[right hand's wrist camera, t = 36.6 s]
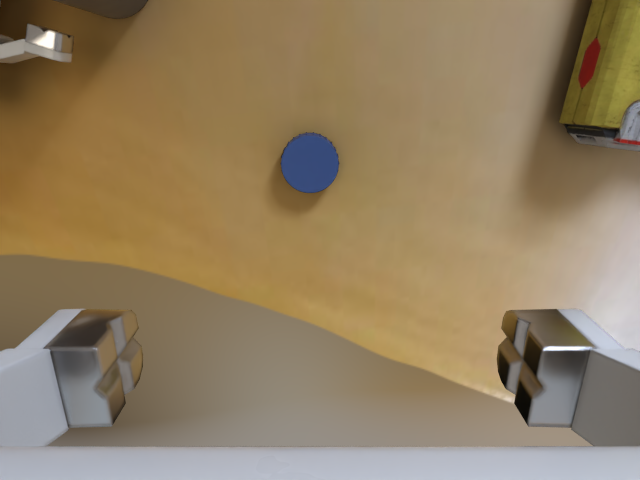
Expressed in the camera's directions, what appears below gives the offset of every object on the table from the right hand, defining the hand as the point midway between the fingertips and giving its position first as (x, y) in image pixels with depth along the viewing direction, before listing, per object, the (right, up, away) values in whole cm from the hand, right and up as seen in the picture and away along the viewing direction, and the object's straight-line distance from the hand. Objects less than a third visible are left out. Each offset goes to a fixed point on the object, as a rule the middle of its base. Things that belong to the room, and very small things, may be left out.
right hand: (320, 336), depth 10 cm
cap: (-1, +7, +21) cm, 22 cm away
